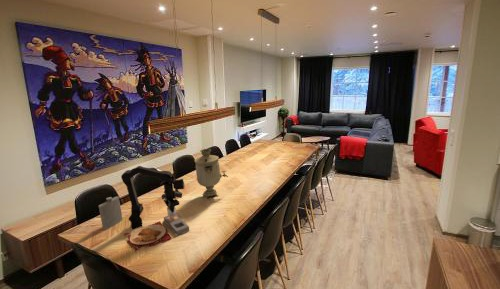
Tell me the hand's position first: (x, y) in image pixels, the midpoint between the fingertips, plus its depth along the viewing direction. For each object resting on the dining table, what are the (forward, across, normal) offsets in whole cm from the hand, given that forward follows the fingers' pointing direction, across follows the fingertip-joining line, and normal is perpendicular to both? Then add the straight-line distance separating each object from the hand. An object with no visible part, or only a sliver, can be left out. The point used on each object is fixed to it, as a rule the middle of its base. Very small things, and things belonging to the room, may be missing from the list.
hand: (171, 211), depth 183 cm
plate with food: (+9, -7, +19) cm, 23 cm away
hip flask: (+9, +26, +33) cm, 43 cm away
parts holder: (+8, -6, 0) cm, 10 cm away
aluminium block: (+4, 0, 0) cm, 4 cm away
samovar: (+9, +21, -44) cm, 49 cm away
